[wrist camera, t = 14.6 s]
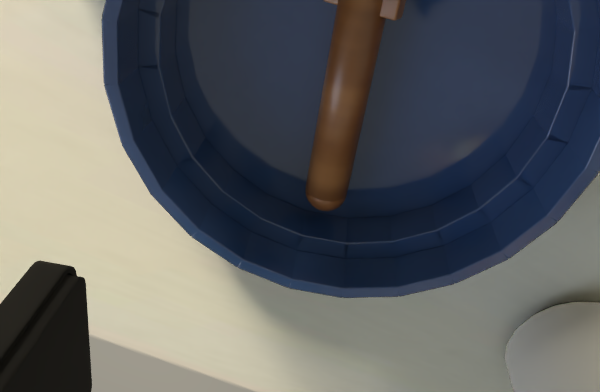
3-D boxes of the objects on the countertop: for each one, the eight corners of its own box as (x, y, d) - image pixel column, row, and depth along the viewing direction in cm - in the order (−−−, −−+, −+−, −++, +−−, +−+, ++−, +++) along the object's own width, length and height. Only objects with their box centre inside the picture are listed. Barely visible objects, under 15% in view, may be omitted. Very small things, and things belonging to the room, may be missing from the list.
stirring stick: (355, -109, 22) (333, -110, 21) (433, -94, 21) (416, -94, 20) (303, 188, 29) (284, 204, 28) (360, 211, 28) (343, 229, 27)
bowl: (148, -250, 21) (90, -277, 16) (678, -158, 20) (761, -162, 16) (145, 200, 31) (108, 256, 26) (501, 264, 30) (523, 331, 26)
